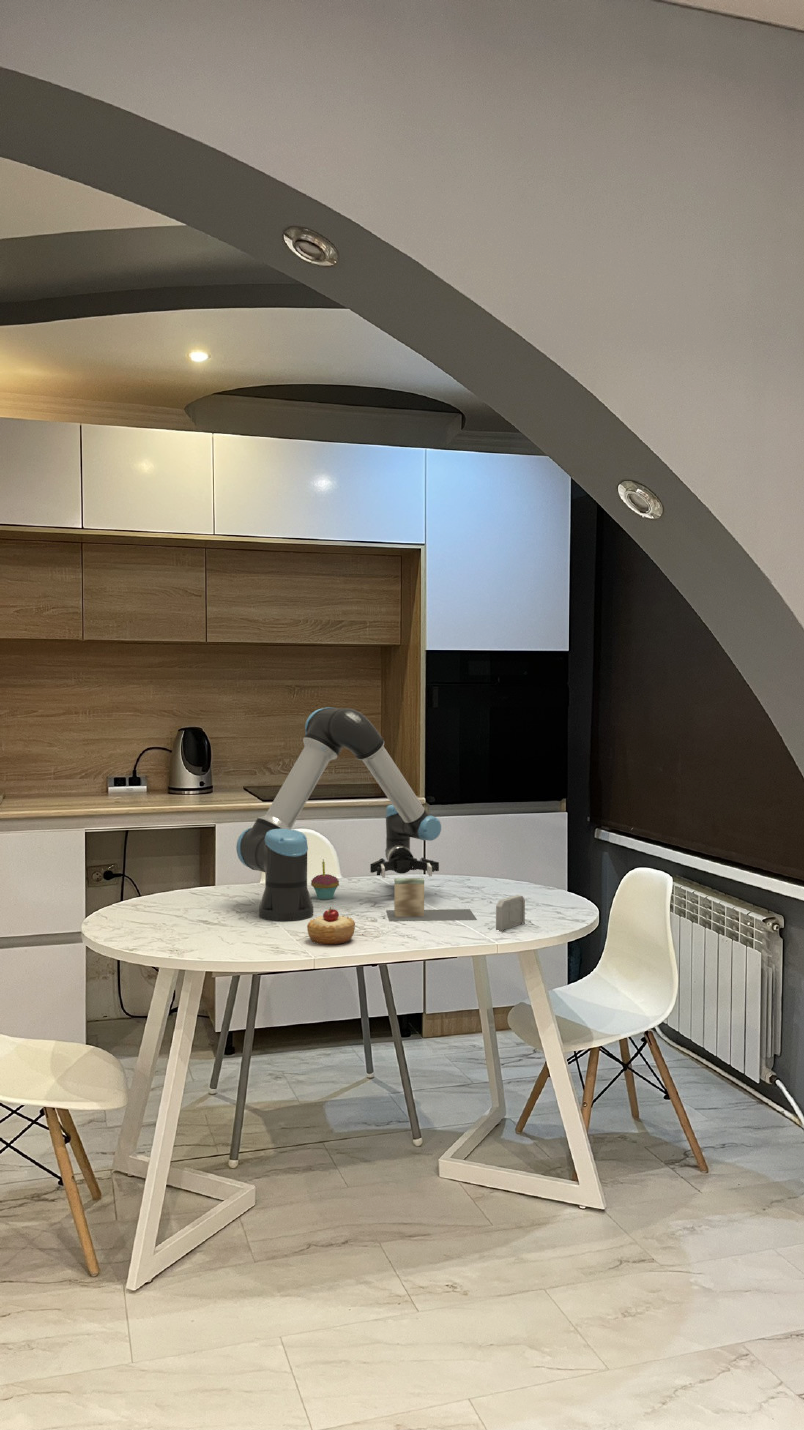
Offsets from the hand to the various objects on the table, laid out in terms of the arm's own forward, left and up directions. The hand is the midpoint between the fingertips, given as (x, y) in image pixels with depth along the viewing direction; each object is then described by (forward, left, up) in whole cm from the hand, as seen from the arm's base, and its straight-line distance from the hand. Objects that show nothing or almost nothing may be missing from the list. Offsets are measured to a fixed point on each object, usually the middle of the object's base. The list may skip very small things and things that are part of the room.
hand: (407, 872), depth 302 cm
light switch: (+26, -24, -11) cm, 37 cm away
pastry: (-22, -36, -11) cm, 44 cm away
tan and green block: (0, -11, -10) cm, 15 cm away
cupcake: (-23, +18, -11) cm, 32 cm away
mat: (+6, -11, -11) cm, 16 cm away
